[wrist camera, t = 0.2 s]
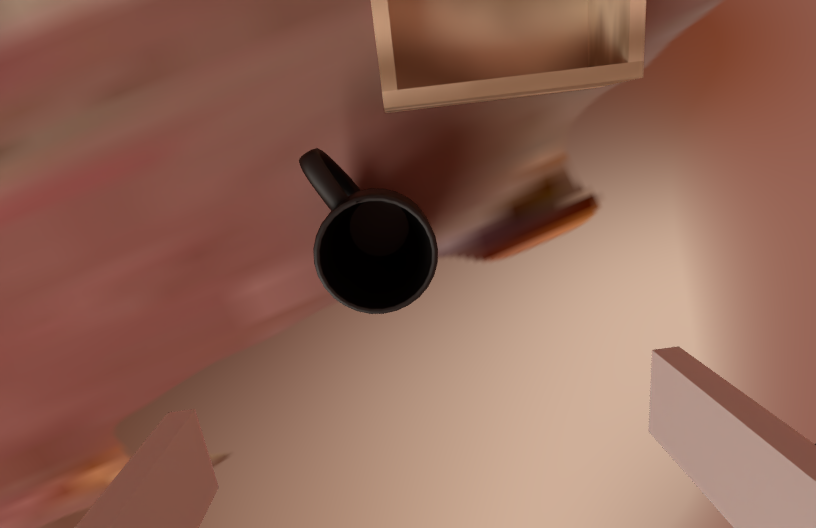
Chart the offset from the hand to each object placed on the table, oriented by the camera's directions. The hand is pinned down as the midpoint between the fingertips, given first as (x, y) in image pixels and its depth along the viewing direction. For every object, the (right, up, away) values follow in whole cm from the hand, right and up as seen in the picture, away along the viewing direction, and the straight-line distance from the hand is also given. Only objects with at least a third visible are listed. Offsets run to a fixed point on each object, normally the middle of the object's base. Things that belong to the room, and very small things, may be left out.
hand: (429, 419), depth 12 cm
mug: (-4, +9, +25) cm, 27 cm away
